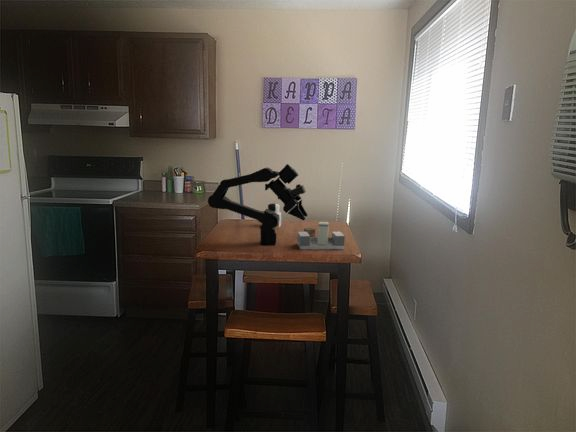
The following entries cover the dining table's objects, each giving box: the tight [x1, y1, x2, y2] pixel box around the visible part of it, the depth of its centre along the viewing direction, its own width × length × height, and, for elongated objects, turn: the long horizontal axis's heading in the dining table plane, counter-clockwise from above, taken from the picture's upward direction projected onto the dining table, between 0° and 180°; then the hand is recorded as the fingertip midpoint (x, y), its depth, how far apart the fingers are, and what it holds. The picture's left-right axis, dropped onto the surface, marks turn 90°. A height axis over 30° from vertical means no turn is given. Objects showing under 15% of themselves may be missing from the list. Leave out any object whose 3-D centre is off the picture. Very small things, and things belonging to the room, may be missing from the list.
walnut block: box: [303, 227, 316, 237], centre depth 210 cm, size 4×4×4 cm
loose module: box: [317, 221, 330, 245], centre depth 191 cm, size 4×5×9 cm
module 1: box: [297, 231, 310, 246], centre depth 190 cm, size 4×8×4 cm, turn 7°
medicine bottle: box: [267, 203, 282, 229], centre depth 232 cm, size 7×7×12 cm
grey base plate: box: [296, 236, 345, 250], centre depth 192 cm, size 19×10×3 cm, turn 97°
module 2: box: [331, 231, 346, 246], centre depth 192 cm, size 4×8×4 cm, turn 7°
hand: (305, 217), depth 191 cm, fingers open, 9 cm apart
